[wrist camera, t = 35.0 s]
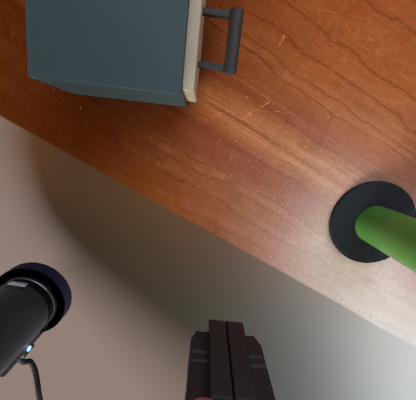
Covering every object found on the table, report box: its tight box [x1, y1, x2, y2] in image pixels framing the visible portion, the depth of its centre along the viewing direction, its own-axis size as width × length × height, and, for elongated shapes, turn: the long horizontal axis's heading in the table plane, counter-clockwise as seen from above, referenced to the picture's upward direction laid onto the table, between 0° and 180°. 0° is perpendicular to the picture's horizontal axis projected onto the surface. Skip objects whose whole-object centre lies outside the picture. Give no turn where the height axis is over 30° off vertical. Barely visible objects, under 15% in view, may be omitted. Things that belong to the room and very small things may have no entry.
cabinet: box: [25, 0, 189, 107], centre depth 27 cm, size 15×13×9 cm
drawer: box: [182, 0, 244, 102], centre depth 27 cm, size 18×11×7 cm, turn 84°
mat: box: [329, 181, 416, 263], centre depth 36 cm, size 12×12×1 cm
